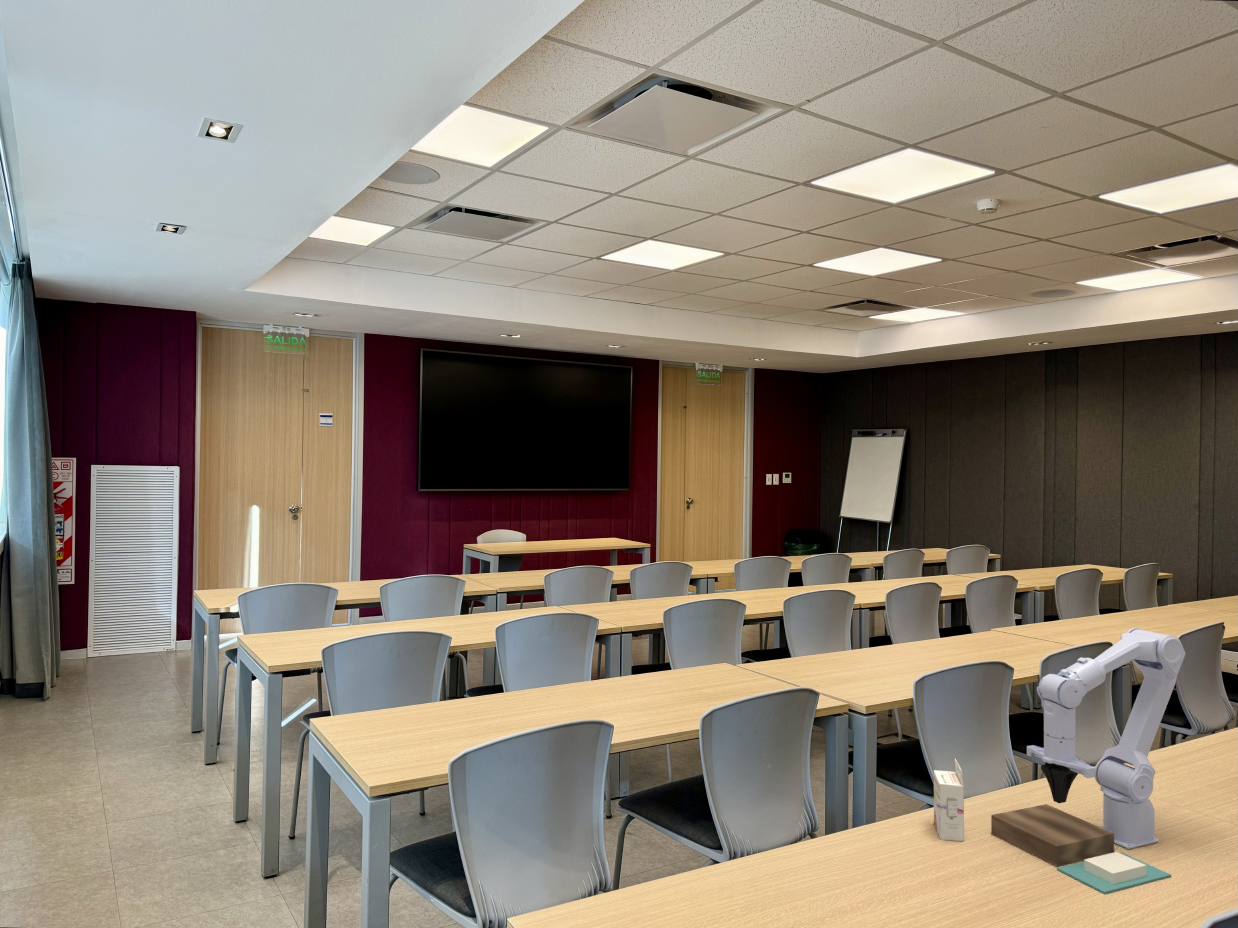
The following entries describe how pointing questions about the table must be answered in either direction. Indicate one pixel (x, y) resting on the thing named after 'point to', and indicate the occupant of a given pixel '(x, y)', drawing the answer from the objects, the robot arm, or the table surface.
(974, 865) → the table surface
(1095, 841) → the stand
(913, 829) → the table surface
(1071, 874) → the mat
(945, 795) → the ink cartridge box
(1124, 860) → the tile
